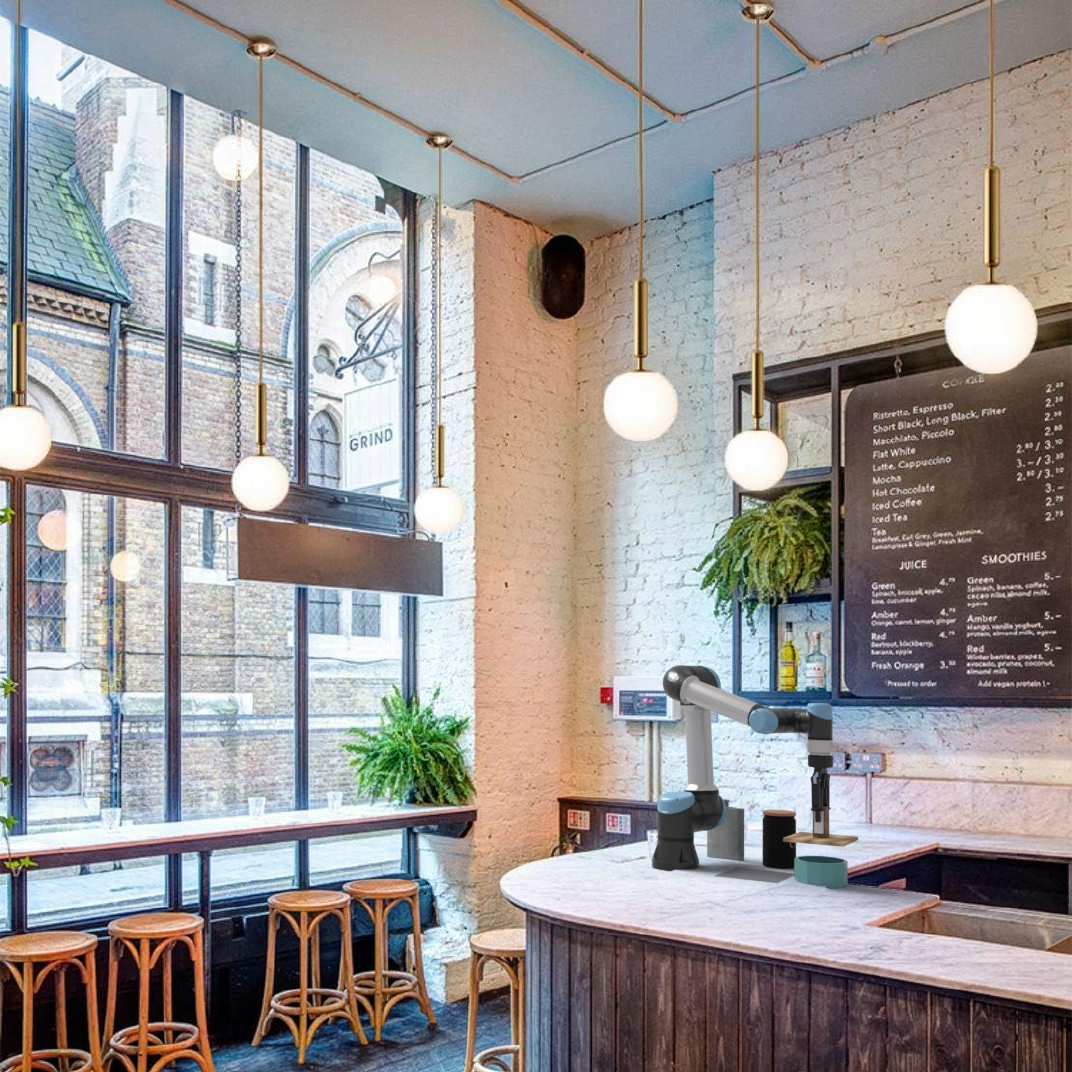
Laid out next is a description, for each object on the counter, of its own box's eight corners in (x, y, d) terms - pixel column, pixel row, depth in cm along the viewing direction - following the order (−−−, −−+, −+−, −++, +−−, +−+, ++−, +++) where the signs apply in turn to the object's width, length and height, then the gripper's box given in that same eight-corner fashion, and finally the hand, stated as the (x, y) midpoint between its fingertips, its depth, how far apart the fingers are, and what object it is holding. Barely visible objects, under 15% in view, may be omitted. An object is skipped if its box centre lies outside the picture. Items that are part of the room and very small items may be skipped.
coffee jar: (796, 871, 368) (796, 814, 370) (762, 869, 370) (762, 812, 372) (795, 866, 379) (795, 810, 381) (762, 864, 381) (762, 808, 383)
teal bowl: (789, 884, 345) (789, 860, 346) (803, 877, 358) (803, 854, 359) (839, 889, 338) (839, 865, 339) (852, 882, 351) (851, 858, 352)
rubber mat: (713, 877, 353) (713, 875, 353) (735, 869, 370) (735, 867, 370) (777, 885, 343) (777, 883, 343) (796, 875, 361) (796, 873, 361)
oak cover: (783, 841, 346) (783, 807, 347) (800, 835, 361) (800, 802, 363) (843, 846, 337) (843, 811, 338) (858, 839, 353) (857, 806, 354)
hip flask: (746, 862, 385) (746, 801, 387) (737, 863, 382) (737, 801, 385) (711, 855, 397) (711, 796, 400) (703, 856, 395) (703, 797, 397)
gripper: (825, 756, 343) (825, 836, 340) (839, 753, 358) (840, 830, 355) (800, 754, 347) (800, 834, 344) (815, 752, 362) (816, 828, 359)
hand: (821, 832), depth 350 cm, fingers closed on oak cover, 4 cm apart
